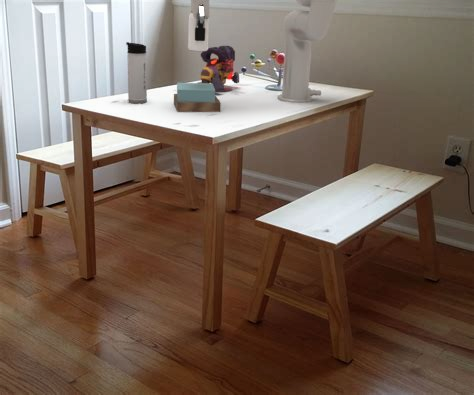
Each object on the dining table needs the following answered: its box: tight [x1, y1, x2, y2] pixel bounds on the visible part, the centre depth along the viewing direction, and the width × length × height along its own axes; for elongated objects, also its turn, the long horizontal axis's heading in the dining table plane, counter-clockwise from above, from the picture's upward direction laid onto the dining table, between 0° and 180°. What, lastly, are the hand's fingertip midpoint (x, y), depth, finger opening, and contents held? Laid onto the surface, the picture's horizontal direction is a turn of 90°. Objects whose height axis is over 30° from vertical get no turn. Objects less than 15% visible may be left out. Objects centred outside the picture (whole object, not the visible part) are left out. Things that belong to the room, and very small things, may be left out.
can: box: [187, 10, 210, 53], centre depth 202 cm, size 6×6×12 cm
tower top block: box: [176, 82, 216, 103], centre depth 209 cm, size 12×12×4 cm
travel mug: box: [125, 41, 148, 105], centre depth 213 cm, size 6×7×20 cm
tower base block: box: [173, 93, 222, 113], centre depth 211 cm, size 14×14×4 cm
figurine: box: [197, 45, 240, 93], centre depth 239 cm, size 20×14×17 cm
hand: (198, 38), depth 203 cm, fingers closed on can, 6 cm apart
